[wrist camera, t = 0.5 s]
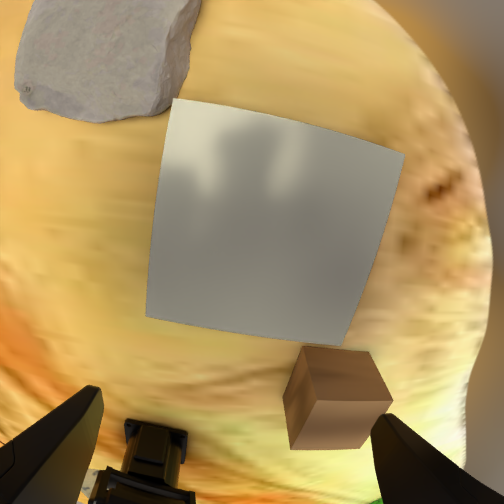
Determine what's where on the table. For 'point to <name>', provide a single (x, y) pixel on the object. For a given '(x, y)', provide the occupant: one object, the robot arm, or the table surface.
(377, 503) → the fruit basket
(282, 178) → the tile
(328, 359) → the cube
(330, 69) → the table surface
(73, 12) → the stone block
